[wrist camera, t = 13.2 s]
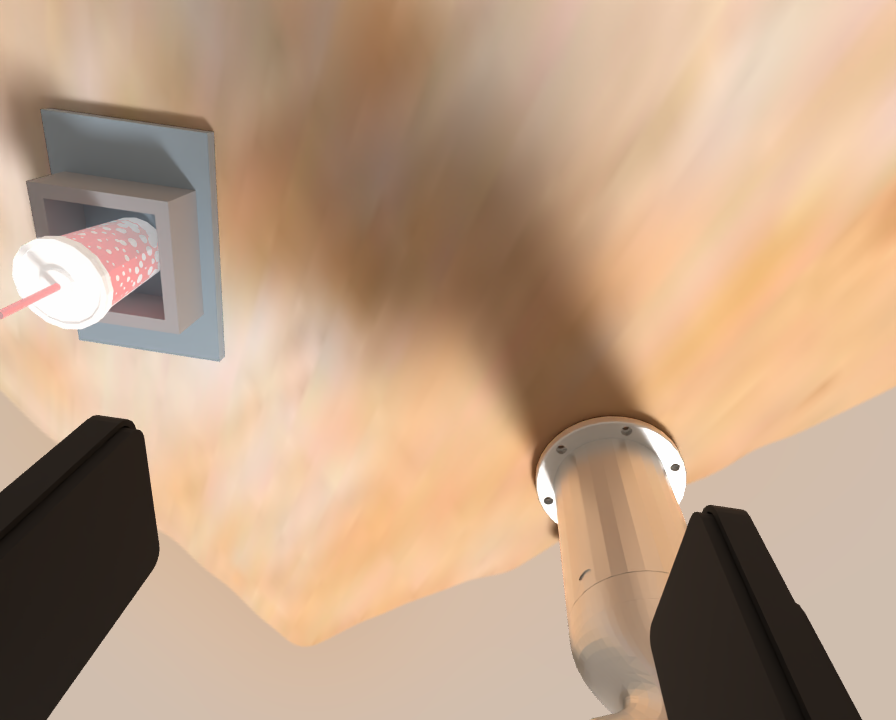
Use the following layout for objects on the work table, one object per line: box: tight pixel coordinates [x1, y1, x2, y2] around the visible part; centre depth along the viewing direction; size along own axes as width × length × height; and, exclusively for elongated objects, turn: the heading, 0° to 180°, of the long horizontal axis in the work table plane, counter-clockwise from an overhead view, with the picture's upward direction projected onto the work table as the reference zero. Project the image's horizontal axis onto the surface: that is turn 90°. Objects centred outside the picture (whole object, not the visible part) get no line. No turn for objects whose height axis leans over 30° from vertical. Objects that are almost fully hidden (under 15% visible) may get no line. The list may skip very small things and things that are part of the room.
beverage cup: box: [0, 218, 160, 329], centre depth 40 cm, size 6×6×14 cm
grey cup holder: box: [26, 108, 225, 362], centre depth 45 cm, size 18×12×5 cm, turn 173°
